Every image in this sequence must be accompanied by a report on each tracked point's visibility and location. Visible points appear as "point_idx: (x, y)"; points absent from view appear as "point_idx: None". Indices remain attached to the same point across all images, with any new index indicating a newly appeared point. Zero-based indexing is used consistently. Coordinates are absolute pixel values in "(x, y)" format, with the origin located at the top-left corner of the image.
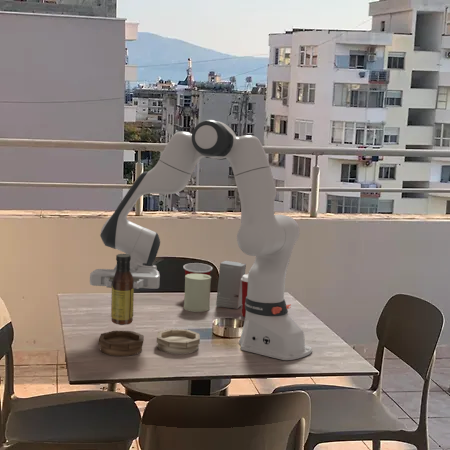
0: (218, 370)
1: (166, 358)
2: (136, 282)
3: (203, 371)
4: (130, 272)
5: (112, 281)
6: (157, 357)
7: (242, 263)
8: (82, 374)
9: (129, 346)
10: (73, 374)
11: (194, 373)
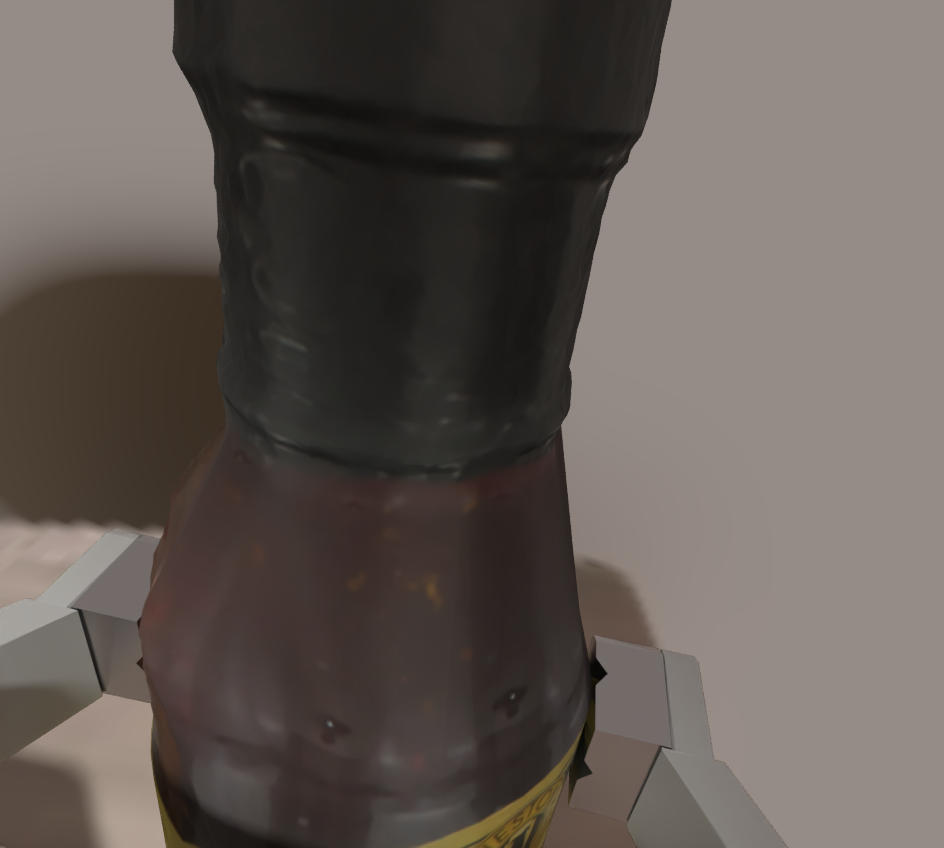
0: None
1: (82, 765)
2: (123, 562)
3: (19, 559)
4: (215, 433)
5: (585, 649)
6: (133, 793)
7: None
8: (601, 609)
9: None
10: (640, 614)
11: (82, 547)
